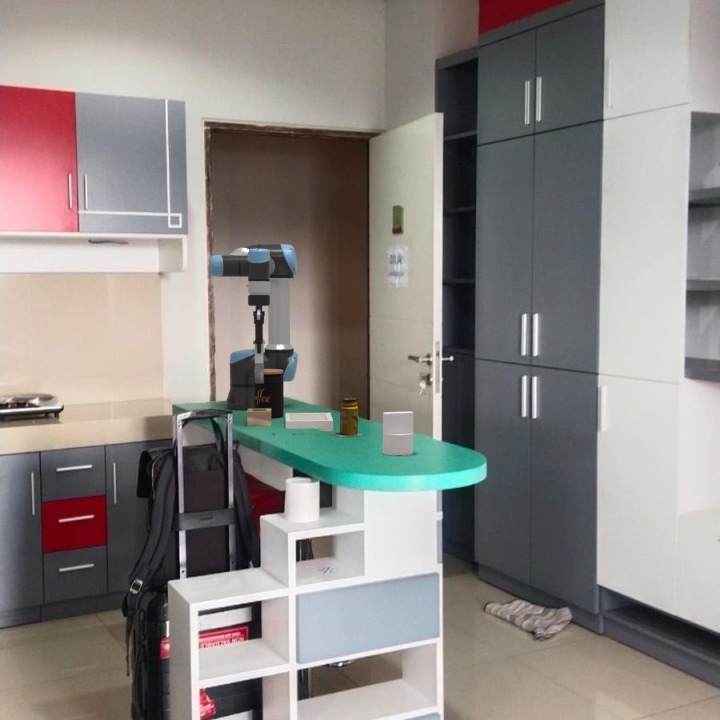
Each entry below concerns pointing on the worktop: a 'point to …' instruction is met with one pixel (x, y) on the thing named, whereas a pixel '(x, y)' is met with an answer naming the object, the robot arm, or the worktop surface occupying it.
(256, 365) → the steel pin
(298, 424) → the tray
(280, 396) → the coffee jar
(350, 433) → the condiment
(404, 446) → the base with upright slab
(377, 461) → the worktop surface
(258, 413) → the block
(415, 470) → the worktop surface
